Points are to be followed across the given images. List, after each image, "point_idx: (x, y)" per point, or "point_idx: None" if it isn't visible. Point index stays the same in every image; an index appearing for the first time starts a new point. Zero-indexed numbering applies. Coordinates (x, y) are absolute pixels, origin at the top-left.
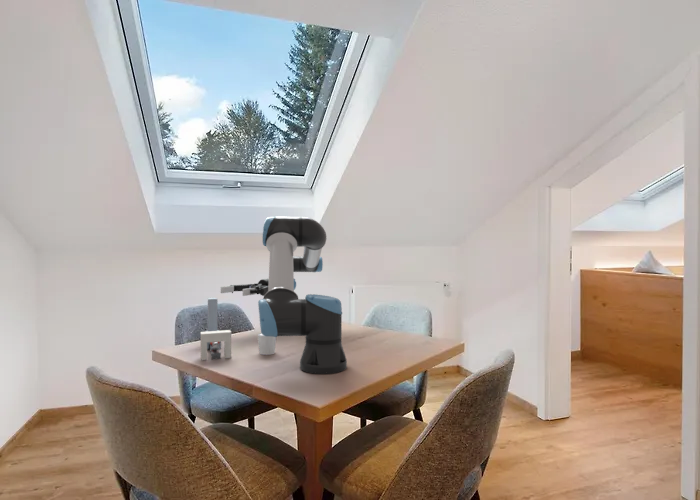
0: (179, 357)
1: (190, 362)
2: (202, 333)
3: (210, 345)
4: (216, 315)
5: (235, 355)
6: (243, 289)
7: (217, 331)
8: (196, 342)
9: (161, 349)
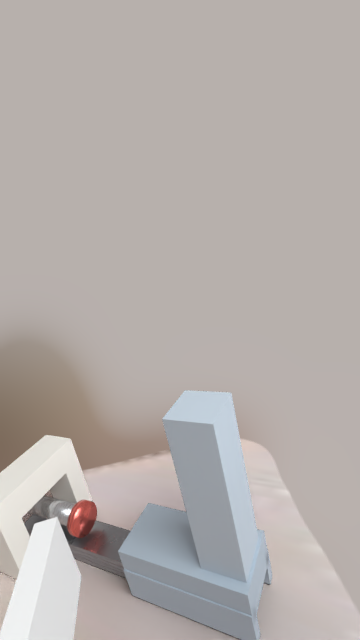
0: (140, 464)
1: None
2: (48, 438)
3: (129, 532)
4: (185, 496)
5: (3, 599)
6: (39, 524)
7: (23, 472)
8: (314, 549)
9: (258, 445)
